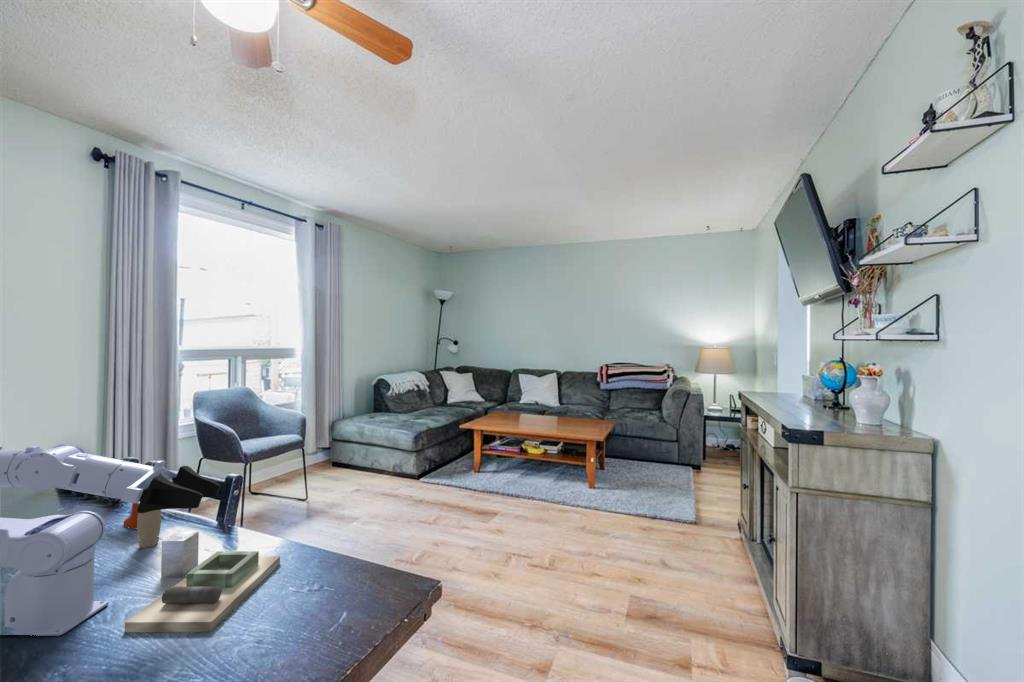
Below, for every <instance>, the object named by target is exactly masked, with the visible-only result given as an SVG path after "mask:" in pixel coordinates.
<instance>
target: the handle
mask: <svg viewBox="0 0 1024 682" xmlns="http://www.w3.org/2000/svg"><path fill="white" fill-rule="evenodd" d="M161 524H162V510H155V511H150V512H146V513H138V518H137V529H136V531H137V533H136V534H137V537H138V538H137V539H138V543H137V544H138V547H139V548H142V549H145V548H150V547H154V546H155V545H157V544H158V543H159V542H160V533H161Z"/></svg>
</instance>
